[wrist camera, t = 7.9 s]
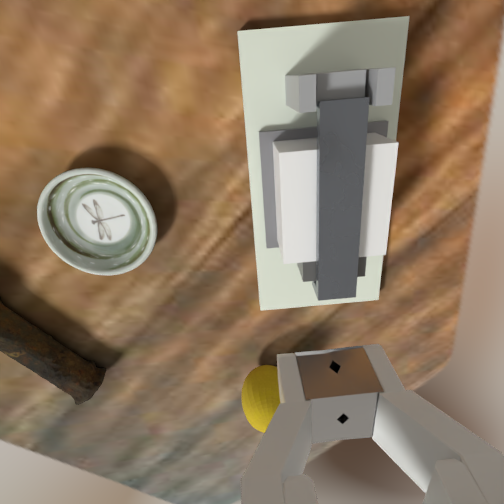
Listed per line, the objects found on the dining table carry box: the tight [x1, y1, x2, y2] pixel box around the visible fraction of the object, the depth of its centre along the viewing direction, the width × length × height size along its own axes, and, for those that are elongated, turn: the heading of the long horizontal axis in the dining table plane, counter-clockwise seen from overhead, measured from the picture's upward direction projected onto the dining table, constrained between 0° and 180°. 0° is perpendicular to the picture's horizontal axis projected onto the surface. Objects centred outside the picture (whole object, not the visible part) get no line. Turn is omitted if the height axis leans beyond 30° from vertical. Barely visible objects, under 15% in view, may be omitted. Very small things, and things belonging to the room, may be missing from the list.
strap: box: [312, 97, 370, 301], centre depth 25 cm, size 14×3×2 cm, turn 4°
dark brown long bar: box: [0, 297, 106, 405], centre depth 34 cm, size 19×4×5 cm, turn 36°
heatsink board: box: [237, 16, 409, 311], centre depth 27 cm, size 24×12×7 cm, turn 4°
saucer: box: [37, 168, 157, 275], centre depth 30 cm, size 10×10×2 cm
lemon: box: [242, 365, 280, 433], centre depth 37 cm, size 6×6×8 cm
